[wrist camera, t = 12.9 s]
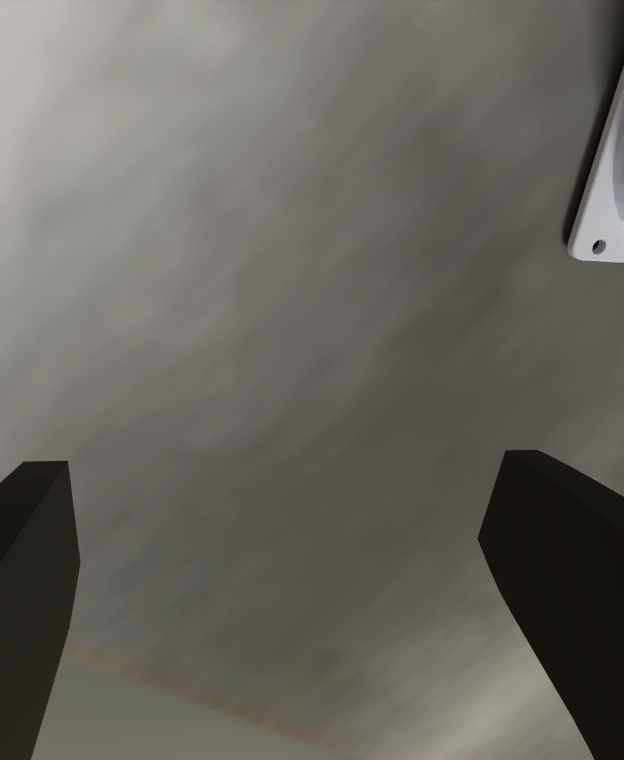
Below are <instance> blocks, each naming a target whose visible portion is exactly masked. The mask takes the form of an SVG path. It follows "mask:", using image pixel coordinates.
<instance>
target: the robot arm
mask: <svg viewBox="0 0 624 760" xmlns="http://www.w3.org/2000/svg"><path fill="white" fill-rule="evenodd" d="M598 240H599V245H598V246H597V248H596V249H595V250H594V251H592V246H593V245H594V243H595V242H596V241H598ZM567 250H568V253H569V254H570V255H571V256H572V257H574V258H576V259H579V260H588V261H605V262H622V263H624V67H623V70H622V73H621V76H620V79H619V83H618V86H617V89H616V92H615V95H614V98H613V102H612V105H611V108H610V111H609V114H608V117H607V121H606V124H605V127H604V130H603V133H602V136H601V140H600V143H599V146H598V149H597V152H596V156H595V159H594V162H593V165H592V168H591V171H590V175H589V178H588V181H587V184H586V187H585V190H584V194H583V197H582V200H581V203H580V206H579V209H578V213H577V216H576V219H575V222H574V225H573V228H572V232H571V235H570V238H569V241H568V246H567ZM478 541H479V543H480V546H481V548H482V551H483V554H484V556H485V559H486V561H487V564H488V566H489V569H490V571H491V573H492V575H493V578H494V580H495V582H496V585H497V587H498V589H499V591H500V593H501V595H502V597H503V599H504V600H505V602H506V604H507V606H508V608H509V609H510V611H511V613H512V615H513V616H514V618H515V620H516V622H517V623H518V625H519V627H520V629H521V630H522V632H523V634H524V636H525V637H526V639H527V641H528V642H529V644H530V646H531V648H532V649H533V651H534V653H535V654H536V656H537V658H538V659H539V661H540V663H541V665H542V666H543V668H544V670H545V671H546V673H547V675H548V677H549V678H550V680H551V682H552V683H553V685H554V687H555V689H556V690H557V692H558V694H559V695H560V697H561V699H562V701H563V702H564V704H565V706H566V707H567V709H568V711H569V712H570V714H571V716H572V718H573V719H574V721H575V723H576V725H577V727H578V729H579V731H580V733H581V734H582V736H583V738H584V740H585V742H586V744H587V746H588V747H589V749H590V751H591V753H592V756H593V758H594V760H624V497H623V496H621V495H619V494H618V493H616V492H614V491H613V490H611V489H609V488H607V487H606V486H604V485H602V484H600V483H599V482H597V481H595V480H593V479H592V478H590V477H588V476H586V475H585V474H583V473H581V472H579V471H577V470H576V469H574V468H572V467H570V466H568V465H566V464H565V463H563V462H561V461H559V460H557V459H555V458H553V457H551V456H549V455H547V454H545V453H543V452H540V451H538V450H506V451H505V454H504V457H503V460H502V463H501V467H500V470H499V473H498V476H497V479H496V482H495V485H494V489H493V492H492V495H491V498H490V501H489V504H488V507H487V511H486V514H485V517H484V520H483V523H482V526H481V529H480V533H479V536H478ZM79 567H80V556H79V548H78V539H77V531H76V523H75V515H74V507H73V499H72V490H71V482H70V474H69V466H68V461H35V462H23V463H22V464H20V465H19V466H18V467H17V468H16V469H15V470H14V471H13V472H12V473H11V474H9V475H8V476H7V477H6V478H5V479H4V480H3V481H2V482H1V483H0V760H31V757H32V754H33V751H34V747H35V744H36V740H37V737H38V733H39V730H40V727H41V723H42V720H43V716H44V713H45V710H46V706H47V703H48V700H49V696H50V693H51V689H52V686H53V683H54V679H55V675H56V672H57V669H58V665H59V662H60V658H61V655H62V651H63V648H64V645H65V641H66V637H67V634H68V630H69V626H70V621H71V615H72V610H73V604H74V598H75V592H76V586H77V580H78V574H79Z"/></svg>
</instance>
